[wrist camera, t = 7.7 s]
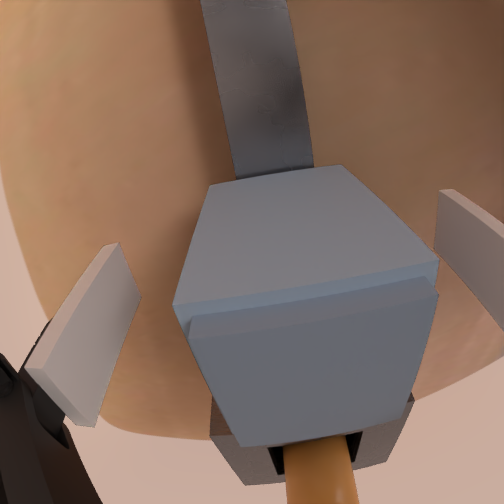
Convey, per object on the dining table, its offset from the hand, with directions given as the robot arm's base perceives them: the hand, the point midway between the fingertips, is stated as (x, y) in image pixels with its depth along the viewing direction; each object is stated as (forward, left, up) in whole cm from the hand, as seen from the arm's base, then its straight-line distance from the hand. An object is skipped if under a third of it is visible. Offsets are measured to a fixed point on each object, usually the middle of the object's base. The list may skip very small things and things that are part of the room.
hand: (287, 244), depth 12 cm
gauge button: (+9, 0, +3) cm, 9 cm away
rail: (-5, 0, -3) cm, 6 cm away
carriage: (0, 0, -1) cm, 1 cm away
